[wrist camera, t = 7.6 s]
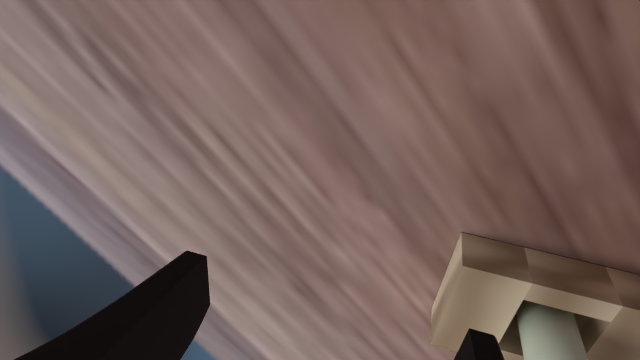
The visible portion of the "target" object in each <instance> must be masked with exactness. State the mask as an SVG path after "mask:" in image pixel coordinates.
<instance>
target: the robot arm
mask: <svg viewBox="0 0 640 360" xmlns="http://www.w3.org/2000/svg"><path fill="white" fill-rule="evenodd" d="M209 306H210V296H209V282H208V268H207V256H204V255H201V254H197V253H193V252H190V251H186V252H184V253H182V254H181V255H180V256H178V257H177V258H175V259H174V260H173V261H171V262H170V263H168V264H167V265H166V266H164V267H163V268H162V269H160V270H159V271H157V272H156V273H155V274H153V275H152V276H150V277H149V278H148V279H146V280H145V281H143V282H142V283H141V284H139V285H138V286H136V287H135V288H133V289H132V290H130V291H129V292H128V293H126V294H125V295H124V296H122V297H120V298H119V299H118V300H116V301H115V302H113V303H111V304H110V305H108V306H107V307H105V308H104V309H102V310H101V311H99V312H97V313H96V314H94V315H92V316H91V317H89V318H88V319H86V320H85V321H83V322H81V323H80V324H78V325H76V326H75V327H73V328H71V329H70V330H68V331H66V332H65V333H63V334H61V335H59V336H58V337H56V338H54V339H52V340H51V341H49V342H47V343H45V344H43V345H41V346H39V347H38V348H36V349H34V350H32V351H30V352H28V353H26V354H24V355H22V356H20V357H18V358H16V359H14V360H180V359H181V358H182V356H183V354H184V353H185V351H186V349H187V348H188V346H189V345H190V343H191V342H192V340H193V339H194V337H195V335H196V333H197V331H198V329H199V327H200V325H201V323H202V321H203V318H204V316H205V314H206V312H207V310H208V308H209ZM454 360H505V359H504V357H503V354H502V351H501V349H500V346H499V344H498V341H497V339H496V337H495V336H494V335H492V334H488V333H485V332H481V331H478V330H474V329H470V328H469V330H468V332H467V334H466V336H465V338H464V340H463V342H462V344H461V346H460V348H459V350H458V352H457V354H456V356H455V359H454Z"/></svg>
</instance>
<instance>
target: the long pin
mask: <svg viewBox="0 0 640 360" xmlns="http://www.w3.org/2000/svg"><path fill="white" fill-rule="evenodd" d="M516 316H517V322H518V327H519V333H520V339H521V345H522V350H523V356H524V360H588V358H587V354H586V351H585V348H584V345H583V342H582V339H581V336H580V332H579V329H578V326H577V323H576V320H575V317H574V314H573V312H569V311H565V310H561V309H557V308H553V307H549V306H546V305H542V304H538V303H534V302H530V301H526V300H523V301H522V303H521V305H520V306H519V308H518V310H517V312H516Z"/></svg>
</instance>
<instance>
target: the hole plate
mask: <svg viewBox="0 0 640 360" xmlns="http://www.w3.org/2000/svg"><path fill="white" fill-rule="evenodd" d="M523 300H526V301H530V302H534V303H538V304H542V305H546V306H549V307H553V308H557V309H561V310H565V311H569V312H573V313H574V317H575V320H576V323H577V326H578V329H579V332H580V336H581V339H582V342H583V345H584V348H585V351H586V354H587V358H588V360H640V275H637V274H633V273H629V272H625V271H621V270H616V269H612V268H608V267H604V266H600V265H596V264H591V263H587V262H583V261H579V260H575V259H571V258H566V257H562V256H558V255H554V254H550V253H545V252H541V251H537V250H533V249H529V248H525V247H520V246H516V245H512V244H508V243H504V242H500V241H495V240H491V239H487V238H483V237H479V236H475V235H470V234H466V233H462V232H461V234H460V237H459V239H458V242H457V245H456V247H455V250H454V252H453V255H452V258H451V260H450V263H449V265H448V268H447V271H446V273H445V276H444V278H443V281H442V284H441V286H440V289H439V291H438V294H437V296H436V299H435V302H434V304H433V307H432V316H431V339H430V344H431V345H435V346H438V347H442V348H445V349H449V350H452V351H456V352H458V350H459V348H460V346H461V344H462V342H463V340H464V338H465V336H466V334H467V332H468V330H469V328H470V329H474V330H478V331H481V332H485V333H488V334H492V335H494V336H495V337H496V339H497V341H498V344H499V346H500V349H501V351H502V354H503V357H504V359H505V360H524V356H523V350H522V345H521V339H520V333H519V327H518V322H517V318H516V317H514V315H515V314H516V312H517V310H518V308H519V306H520V305H521V303H522V301H523Z"/></svg>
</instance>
